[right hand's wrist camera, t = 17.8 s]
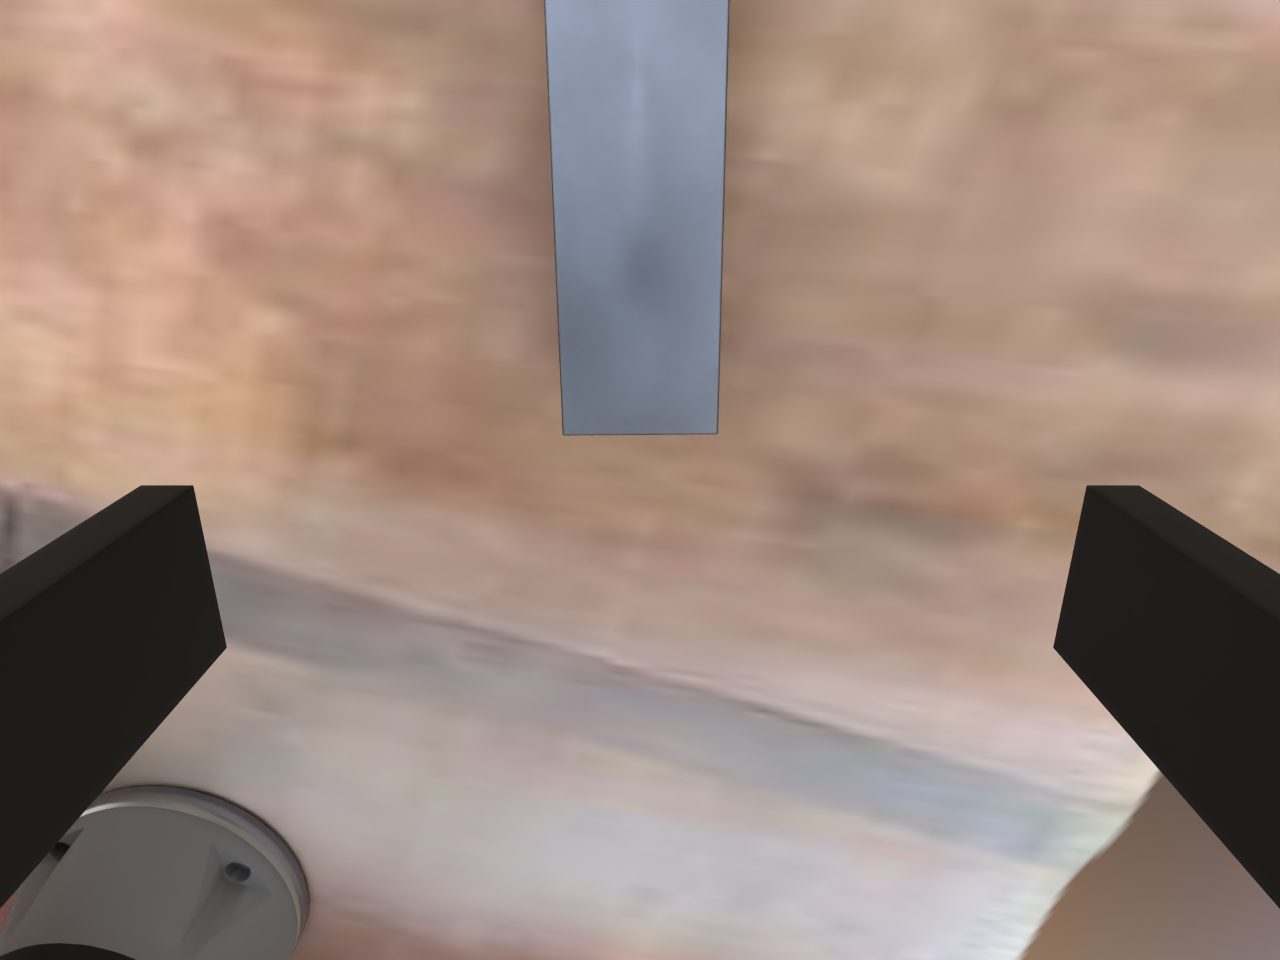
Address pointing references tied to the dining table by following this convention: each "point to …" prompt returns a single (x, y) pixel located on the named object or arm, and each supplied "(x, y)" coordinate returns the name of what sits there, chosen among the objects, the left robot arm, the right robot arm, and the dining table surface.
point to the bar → (638, 210)
